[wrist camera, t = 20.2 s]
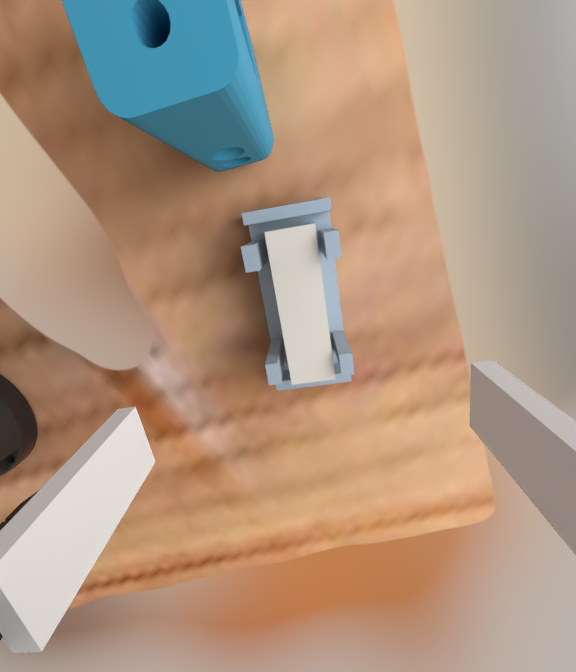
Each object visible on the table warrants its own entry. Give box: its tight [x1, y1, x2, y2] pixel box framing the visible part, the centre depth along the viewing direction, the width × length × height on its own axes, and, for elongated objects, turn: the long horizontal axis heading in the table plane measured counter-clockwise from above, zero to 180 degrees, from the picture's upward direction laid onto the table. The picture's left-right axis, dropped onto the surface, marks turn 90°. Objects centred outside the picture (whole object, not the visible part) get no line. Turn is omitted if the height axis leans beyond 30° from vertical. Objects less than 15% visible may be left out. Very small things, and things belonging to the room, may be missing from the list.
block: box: [62, 0, 273, 172], centre depth 19 cm, size 12×5×20 cm, turn 14°
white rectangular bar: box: [264, 223, 335, 385], centre depth 30 cm, size 14×4×5 cm, turn 9°
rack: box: [241, 197, 354, 391], centre depth 30 cm, size 17×8×7 cm, turn 9°
